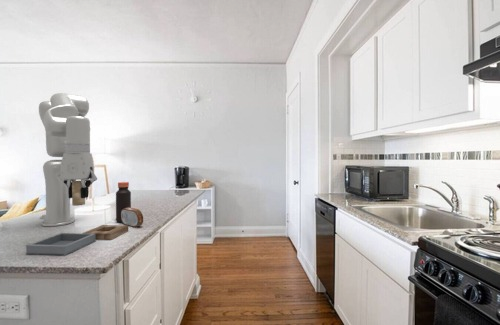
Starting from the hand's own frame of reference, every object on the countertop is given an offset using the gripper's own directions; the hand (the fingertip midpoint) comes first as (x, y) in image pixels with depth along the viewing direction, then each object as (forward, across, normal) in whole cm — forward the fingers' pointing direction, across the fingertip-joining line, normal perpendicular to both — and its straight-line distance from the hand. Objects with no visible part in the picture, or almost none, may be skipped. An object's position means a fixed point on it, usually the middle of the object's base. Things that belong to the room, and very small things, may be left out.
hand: (78, 197), depth 92 cm
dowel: (+3, 0, 0) cm, 3 cm away
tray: (+17, -2, -5) cm, 18 cm away
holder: (+17, +4, +10) cm, 21 cm away
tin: (+18, +7, +25) cm, 31 cm away
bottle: (+18, -1, +32) cm, 37 cm away
